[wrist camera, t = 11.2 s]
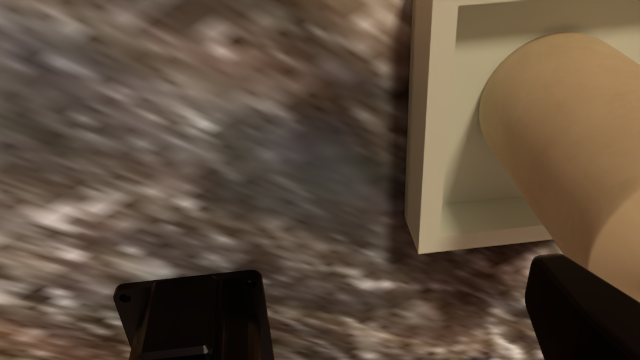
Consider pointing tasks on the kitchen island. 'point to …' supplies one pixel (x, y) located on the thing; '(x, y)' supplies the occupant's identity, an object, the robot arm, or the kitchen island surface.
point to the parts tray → (463, 112)
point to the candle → (573, 147)
